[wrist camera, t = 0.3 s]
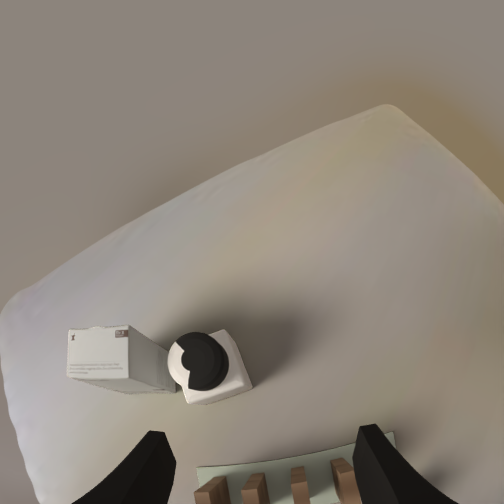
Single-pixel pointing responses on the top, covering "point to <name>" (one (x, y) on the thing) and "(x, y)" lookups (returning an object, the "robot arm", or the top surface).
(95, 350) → the skincare box
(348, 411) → the top surface
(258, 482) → the domino
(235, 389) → the medicine bottle
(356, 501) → the domino
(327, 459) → the domino mat
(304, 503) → the domino
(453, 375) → the top surface
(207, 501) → the domino
